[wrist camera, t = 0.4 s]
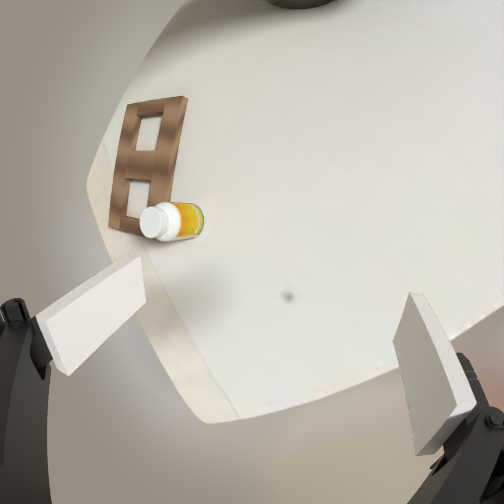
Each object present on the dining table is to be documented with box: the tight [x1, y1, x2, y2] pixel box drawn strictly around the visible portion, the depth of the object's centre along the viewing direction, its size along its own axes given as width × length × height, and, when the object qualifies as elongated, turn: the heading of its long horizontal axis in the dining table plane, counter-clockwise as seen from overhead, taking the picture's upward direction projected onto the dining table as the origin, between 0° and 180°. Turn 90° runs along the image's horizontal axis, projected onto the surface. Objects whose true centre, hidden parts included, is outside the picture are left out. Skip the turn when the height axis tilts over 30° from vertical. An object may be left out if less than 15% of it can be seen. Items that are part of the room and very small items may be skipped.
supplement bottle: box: [140, 202, 206, 242], centre depth 38 cm, size 5×5×10 cm
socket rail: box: [108, 96, 188, 240], centre depth 45 cm, size 24×14×2 cm, turn 170°
